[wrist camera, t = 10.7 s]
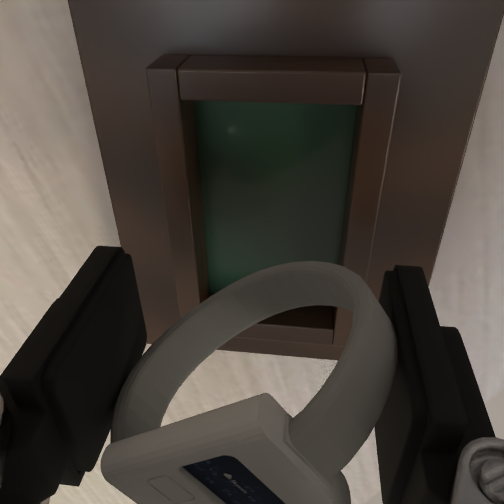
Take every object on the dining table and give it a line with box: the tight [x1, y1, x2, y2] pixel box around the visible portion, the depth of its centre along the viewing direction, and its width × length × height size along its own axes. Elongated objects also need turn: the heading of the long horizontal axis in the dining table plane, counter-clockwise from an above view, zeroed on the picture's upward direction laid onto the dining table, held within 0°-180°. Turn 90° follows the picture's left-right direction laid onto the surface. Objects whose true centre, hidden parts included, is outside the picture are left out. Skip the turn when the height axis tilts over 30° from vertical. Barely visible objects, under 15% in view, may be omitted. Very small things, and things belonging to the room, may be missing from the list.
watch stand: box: [68, 0, 504, 360], centre depth 15 cm, size 14×11×2 cm
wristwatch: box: [101, 261, 398, 504], centre depth 9 cm, size 6×3×5 cm, turn 124°
